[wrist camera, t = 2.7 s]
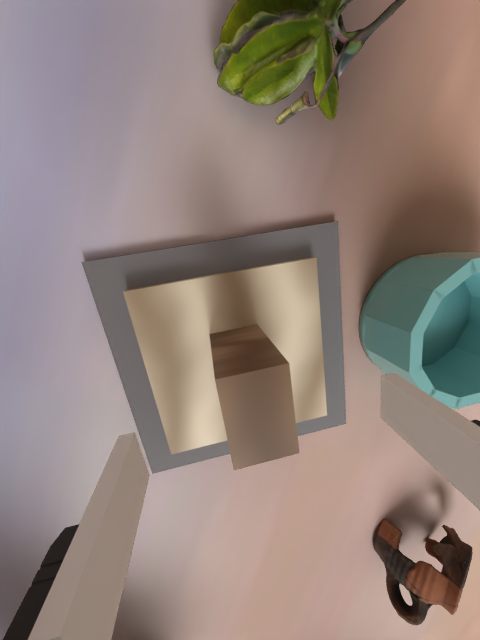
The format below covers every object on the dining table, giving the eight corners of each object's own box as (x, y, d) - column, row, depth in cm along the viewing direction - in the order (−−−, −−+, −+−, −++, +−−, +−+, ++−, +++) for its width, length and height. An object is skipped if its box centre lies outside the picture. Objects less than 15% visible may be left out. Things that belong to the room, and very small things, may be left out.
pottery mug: (387, 495, 31) (474, 555, 25) (403, 486, 37) (477, 532, 31) (354, 591, 30) (437, 677, 24) (377, 565, 36) (448, 628, 30)
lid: (172, 446, 23) (157, 551, 15) (126, 289, 19) (71, 317, 11) (322, 409, 25) (382, 485, 16) (311, 257, 20) (384, 259, 12)
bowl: (360, 383, 25) (407, 421, 19) (357, 266, 22) (413, 270, 16) (462, 359, 26) (534, 388, 21) (474, 244, 23) (565, 241, 17)
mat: (153, 469, 24) (152, 473, 23) (85, 262, 18) (81, 262, 18) (343, 420, 26) (346, 423, 26) (334, 221, 20) (337, 221, 20)
